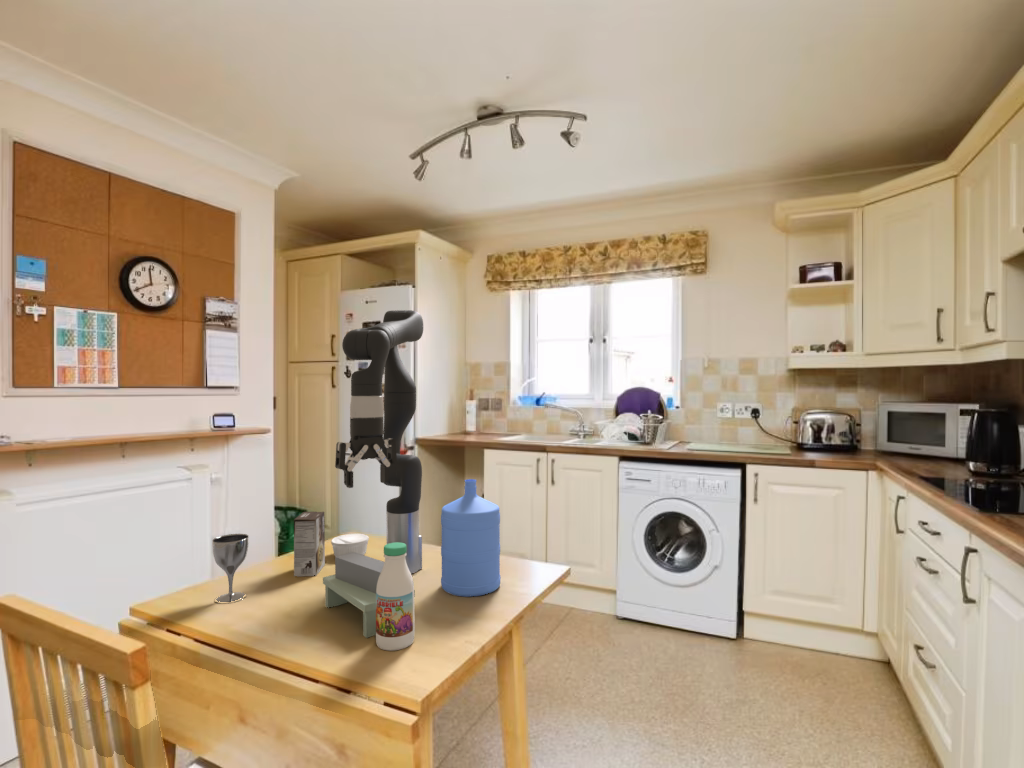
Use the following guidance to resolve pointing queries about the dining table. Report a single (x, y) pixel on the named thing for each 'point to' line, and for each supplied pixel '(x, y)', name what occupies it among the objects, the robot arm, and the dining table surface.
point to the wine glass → (230, 559)
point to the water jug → (470, 545)
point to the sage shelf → (352, 600)
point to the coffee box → (309, 543)
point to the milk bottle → (395, 600)
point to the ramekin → (350, 544)
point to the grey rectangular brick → (358, 570)
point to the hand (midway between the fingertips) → (367, 485)
